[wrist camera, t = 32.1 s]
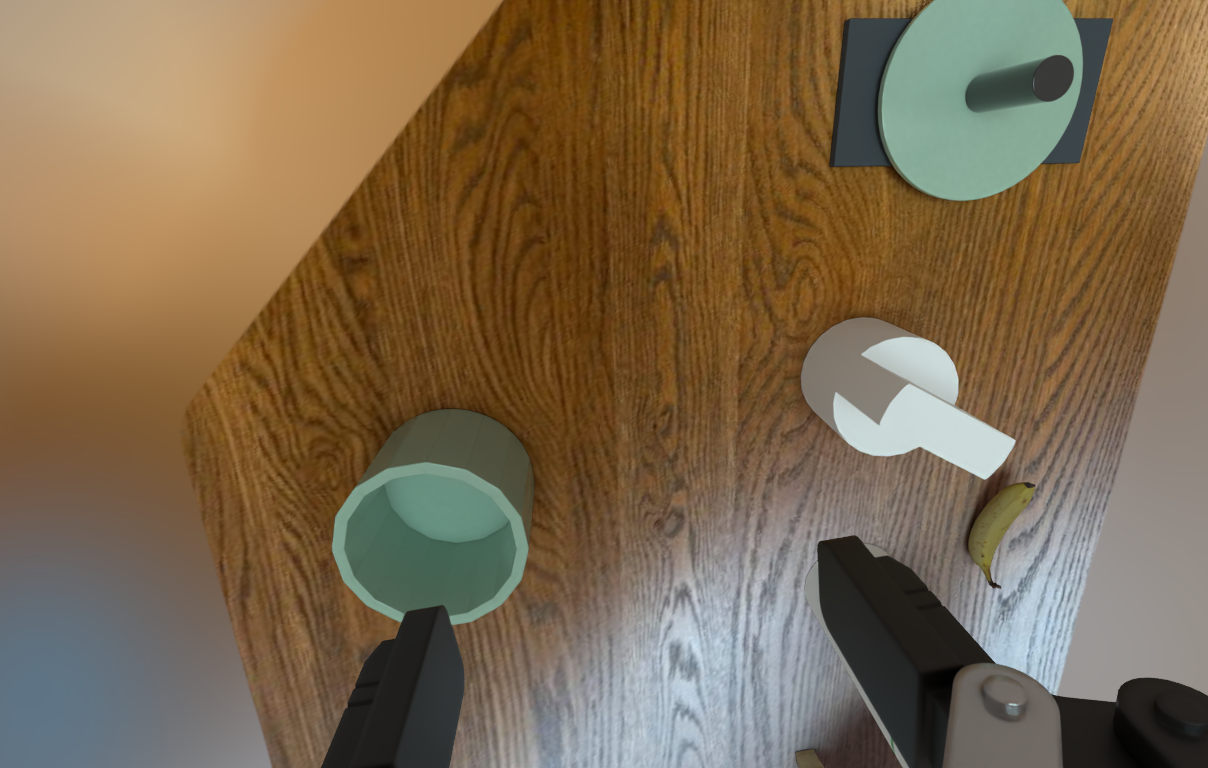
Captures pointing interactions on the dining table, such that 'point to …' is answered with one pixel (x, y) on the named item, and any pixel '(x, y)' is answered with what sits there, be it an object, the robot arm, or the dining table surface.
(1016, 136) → the lid
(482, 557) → the pot
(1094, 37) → the mat
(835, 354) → the base with upright slab
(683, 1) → the dining table surface
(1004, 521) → the banana
